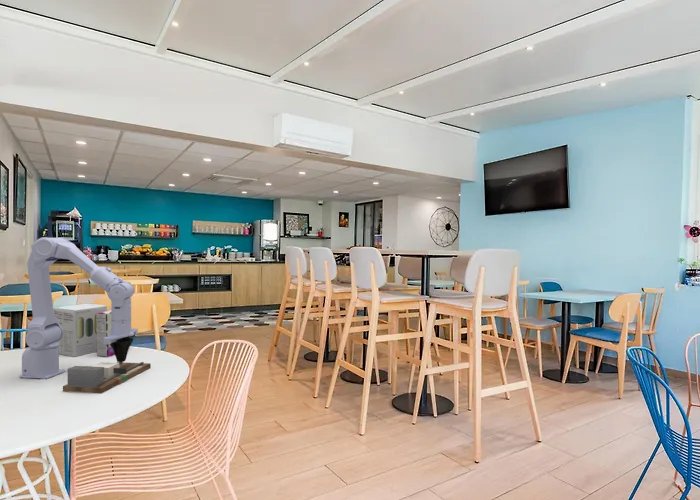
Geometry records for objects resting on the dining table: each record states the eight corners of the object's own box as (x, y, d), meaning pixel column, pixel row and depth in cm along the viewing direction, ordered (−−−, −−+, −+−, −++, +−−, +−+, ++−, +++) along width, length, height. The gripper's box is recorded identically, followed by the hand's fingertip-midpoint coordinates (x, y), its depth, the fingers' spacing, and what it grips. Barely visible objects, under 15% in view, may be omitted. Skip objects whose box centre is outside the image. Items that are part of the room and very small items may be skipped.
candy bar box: (117, 349, 169) (117, 307, 168) (129, 349, 168) (128, 308, 167) (95, 356, 158) (95, 312, 157) (107, 357, 157) (107, 313, 156)
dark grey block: (67, 386, 121) (67, 368, 121) (75, 382, 124) (75, 365, 124) (96, 387, 120) (96, 370, 120) (104, 384, 123) (104, 367, 123)
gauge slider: (85, 379, 126) (85, 369, 126) (101, 372, 133) (101, 362, 133) (116, 381, 125) (116, 370, 125) (131, 373, 132) (131, 363, 132)
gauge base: (62, 391, 122) (62, 383, 122) (117, 366, 145) (117, 360, 145) (102, 393, 120) (102, 385, 120) (151, 367, 144) (151, 361, 144)
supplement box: (74, 357, 156) (73, 310, 156) (52, 353, 162) (52, 307, 162) (108, 349, 168) (107, 305, 168) (87, 345, 174) (86, 302, 174)
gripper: (118, 324, 130) (118, 368, 131) (146, 316, 145) (145, 355, 145) (96, 323, 131) (96, 367, 131) (126, 315, 145) (126, 354, 146)
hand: (121, 361), depth 138 cm, fingers closed
